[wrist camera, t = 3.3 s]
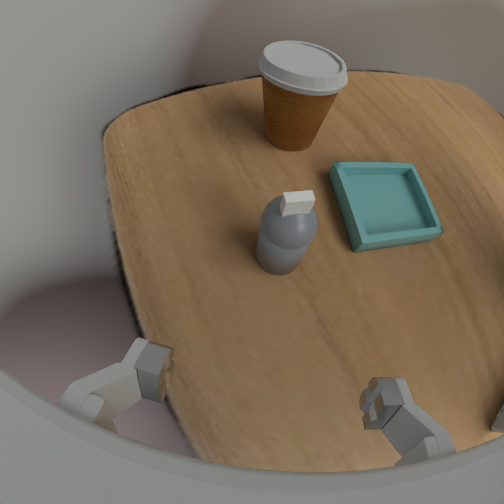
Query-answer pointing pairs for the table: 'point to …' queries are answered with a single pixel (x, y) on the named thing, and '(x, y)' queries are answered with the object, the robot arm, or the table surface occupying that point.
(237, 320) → the table surface
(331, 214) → the table surface
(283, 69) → the disposable coffee cup
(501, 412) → the cassette
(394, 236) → the tray
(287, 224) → the gray bottle
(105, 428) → the robot arm
